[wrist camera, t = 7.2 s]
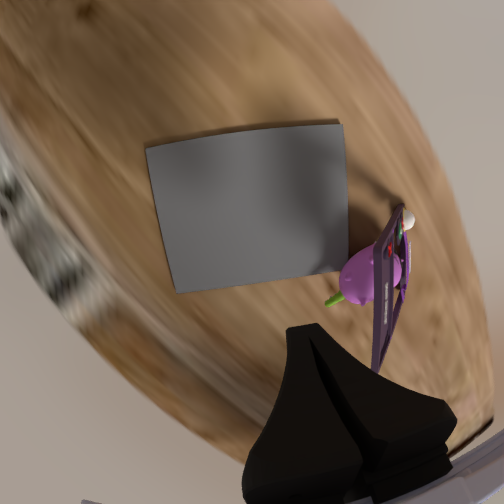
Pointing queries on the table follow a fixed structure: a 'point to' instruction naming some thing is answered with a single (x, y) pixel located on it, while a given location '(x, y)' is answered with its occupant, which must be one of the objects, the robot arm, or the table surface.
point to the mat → (252, 205)
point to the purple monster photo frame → (379, 280)
